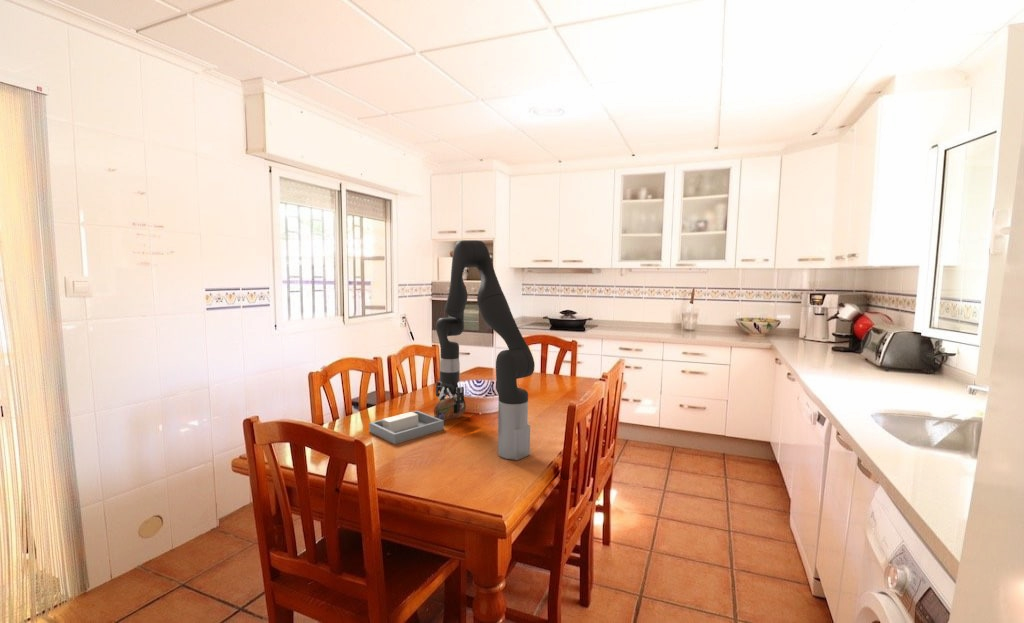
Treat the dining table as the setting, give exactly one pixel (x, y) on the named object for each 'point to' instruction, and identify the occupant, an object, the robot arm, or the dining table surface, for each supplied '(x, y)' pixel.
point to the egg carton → (400, 421)
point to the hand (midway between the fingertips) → (449, 410)
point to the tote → (408, 429)
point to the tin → (448, 409)
